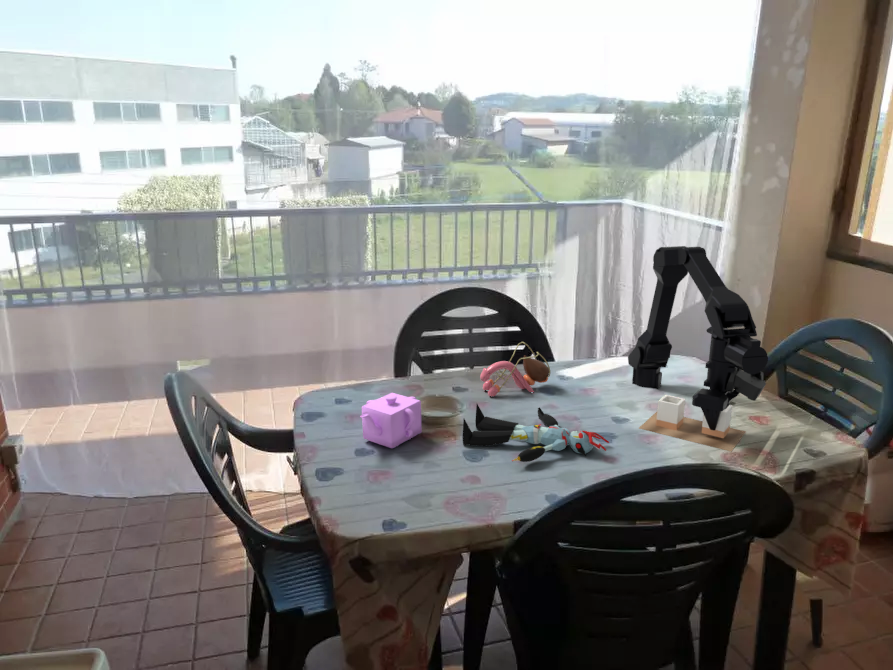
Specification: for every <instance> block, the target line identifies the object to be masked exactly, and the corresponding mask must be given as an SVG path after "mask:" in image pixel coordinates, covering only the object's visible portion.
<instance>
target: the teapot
mask: <svg viewBox="0 0 893 670" xmlns="http://www.w3.org/2000/svg"><path fill="white" fill-rule="evenodd" d="M359 418H361V421H362V422H361V423H362V438H364V439H363V440H366V439H367V440H366V441H370V442H371V443H375V444H377V445H380V446H384V447H386V448H390V449H394V448H397V447H398V446H399V445H401V444H403V443H405V442H407V441H408V440H412V439H413V438H414V437H416V436H417V435H419V434H421V433H423V432H422V430H423V429H422V401H421V400H420V399H417V397H415V396H406V395H402V394H398V393H394V392H389V393H388V394H385V395H383V396H382V397H379V398H376V399H369V400H367V401H366V404H364V405H362V406H361V415H360V416H359ZM411 438H412V439H411ZM396 446H397V447H396Z"/></svg>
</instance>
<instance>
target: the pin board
mask: <svg viewBox="0 0 893 670" xmlns="http://www.w3.org/2000/svg"><path fill="white" fill-rule="evenodd" d="M656 420H657V411H655V412H654V413H653V414H652V415H651V416H650V417H649V418H648V419H647V420H645V422H644V423H642V424H641V425H640V426H639V427H638V429H639V430H643V431H648V432H652V433H655V434H659V435H663V436H667V437H671V438H675V439H679V440H683V441H688V442H692V443H695V444H699V445H702V446H703V445H704V446H708V447H711V448H714V449H720V450H724V451H727V452H730V453H731V452H732V451H733V450H734V449H735V447H736V446H737V445H738V444H739V442H740V441H741V439H742V438H743V436H744V435H745V434H746V432H747V431H746V430H742V429H738V428H733V427H730V430H729V432H728V433H727V435H726V436H725V437H724V438H720V437H716V436H712V435H708V434H704V433H702V424H703V420H699V419H694V418H690V417H685V416H684V419H683V424H682V425H681V426H680V427H679V428H678V429H677V430H673V429H669V428H665V427H661V426H656Z"/></svg>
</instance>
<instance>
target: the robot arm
mask: <svg viewBox="0 0 893 670" xmlns="http://www.w3.org/2000/svg"><path fill="white" fill-rule="evenodd" d="M652 262H653V264H652V265H653V266H652V269H653V272H654V273H655V277H656V284H655V289H654V294H653V298H652V303H651V308H650V312H649V317H648V322H647V325H646V326H647V327H646V330H645V331H643V332H642V333H641V334H640V335H639V337H638V338H637V340H636V344H635V347H634V348H633V349H632V351H631V352H630V353H629V354H628V356H627V361H628V365H629V366H631V367H632V369H633V370H632V380H631V381H632V382H631V384H632V385H636V386H637V387H641V388H646V389H647V388H648V389H656V390H659V389H660V388H662V380H663V379H662V378H663V377H662V376H663V372H662V371H661V368H666V367H667V365H668V362H669V358H671V352H672V351H671V350H672V348H673V346H672V344H671V343H670V341H669V339H668V337H667V335H668V334H667V333H668V329H669V325H670V321H671V317H672V313H673V307H674V303H675V298H676V294H677V291H678V290H677V289H678V287H679V283H680V282H681V281H682V280H684V279H685V278H686V277H687V275H688V274H689V276H690V277H691V279H692V281H693V282H694V284H695V286H696V287H697V289H698V291H699V292H700V294H701V296H702V297H703V299H704V301H705V305H704V312H705V315H706V318H707V320H708V322H709V324H710V327H708V328H706V333H708V334H710V335H711V336H710V344H709V346H710V347H709V355H708V360H707V362H706V363H705V367H704V368H705V369H707V373H706V379H705V380H703V387H704V388H703V387H702V388H701V389H699V390H698V391H696V393H695V394H693V396H692V400H691V401H692V402H691V405H692V406H693V407H697V408H700V409H701V411H702V415H703V414H704V416H705V418H706V421H707V423H708V426H709V428H710V430H714V431H715V430H716V427H717V424H718V421H719V418H720V414H721V411H723V410H724V409H726V408H727V407H728V406H729V405H731V401H732V400H733V399H735V398H736V397H738V396H739V395H740V394H741V395H744V396H745V397H746V398H747V399H749V400H751V401H756V400H757V399H758V397H760V395H761V393H762V392H763V389H765V386H766V385H767V383H766V380H764V372H763V370H764V369H765V368H766V366H767V365H768V361H769V356H768V352H767V351H766V350H765V348H763V347H762V346H761V344H762V342H761V340H760V339H757V338H754V337H757V336H758V333H757V330H756V329H757V326H756V323H755V321H754V320H753V316H752V312H751V310H750V308H749V307H750V306H749V305H748V304H747V302H746V301H745V299H743V297H742V296H740V294H738V293H737V292H734V291H732V289H731V290H730V289H729V288H728V287H727V286H726V284H725V283H724V282H723V280H722V278H721V276H720V275H719V274H718V272H717V270H716V269H715V267H714V265H713V264H712V263H711V261H710V260H709V258H708V256H707V251H706V249H705V248H704V247H702V246H686V245H682V246H680V245H679V246H660V247H659V248H658V249H656V250H655V251H654V253H653V257H652ZM705 387H706V388H705ZM708 388H709V389H708Z"/></svg>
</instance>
